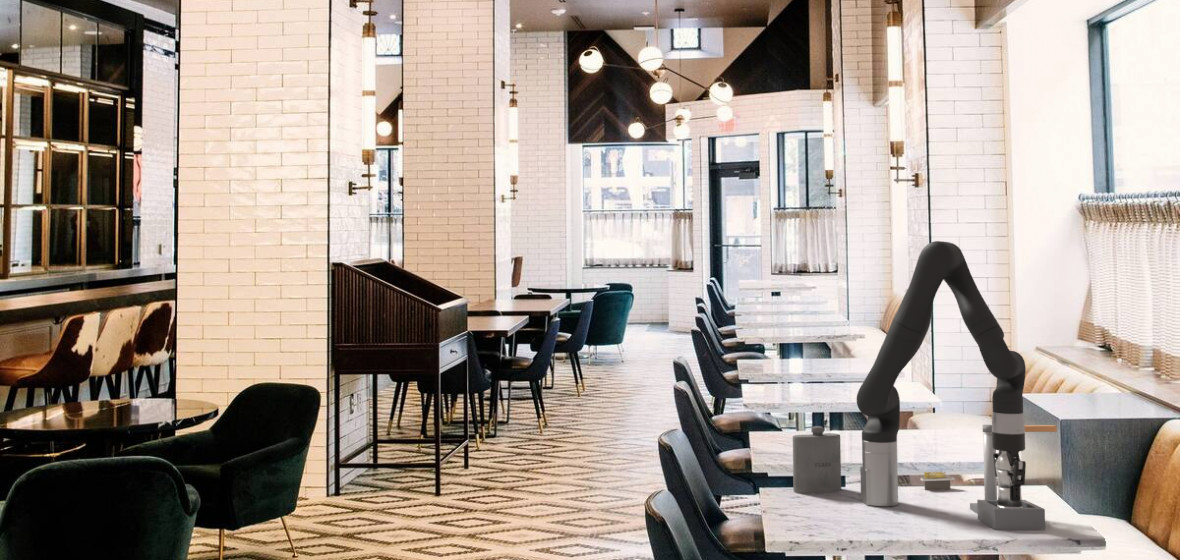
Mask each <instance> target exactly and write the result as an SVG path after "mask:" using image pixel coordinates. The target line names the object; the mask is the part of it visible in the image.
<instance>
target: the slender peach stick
mask: <svg viewBox="0 0 1180 560" xmlns="http://www.w3.org/2000/svg"><path fill="white" fill-rule="evenodd" d="M1057 432H1058V427H1057V425H1055V424H1054V425H1053V424H1048V425H1047V424H1046V425H1045V424H1044V425H1043V424H1033V425H1032V424H1031V425H1029V424H1027V425H1026V424H1025V433H1057ZM982 433H992V424H982Z"/></svg>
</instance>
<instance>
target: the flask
mask: <svg viewBox="0 0 1180 560" xmlns="http://www.w3.org/2000/svg"><path fill="white" fill-rule="evenodd" d="M810 429H811V430H810V431H811V433H812V434H795V435H793V436H792V475H793V476H792V478H793V479H792V482H793V488H792V489H793V493H796V494H801V495H802V494H803V495H813V494H812V493H818V494H828V493H836V492H840V491H842V466H841V465H842V463H841V462H842V460H841V457H842V456H841V454H842V453H841V435H840V434H839V433H833V432H832V433H831V432H830V433H829V432H828V433H825V429H824V427H823V426H819V425H816V426H812V427H811V428H810Z"/></svg>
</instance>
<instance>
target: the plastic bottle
mask: <svg viewBox="0 0 1180 560" xmlns="http://www.w3.org/2000/svg"><path fill="white" fill-rule="evenodd" d="M1003 458H1004V459H1005V460H1004V459H1003ZM1020 461H1022V459H1020ZM995 465H996V472H997V500H998V504H997V507H998V508H1023V506H1022V500H1023V499H1022V485H1021V486H1020V501H1011V500H1010V483H1009V477H1008V476H1007V470H1008V471H1009V472H1010V473H1013V467H1012V466H1010V464H1009V460H1008V457H1007V454H1006V451H1002V454H1001V455H1000V456H999V458H998V459H997V461H996V464H995ZM1013 465H1014V464H1013ZM1012 478H1013V476H1012ZM1020 478H1021V476H1020Z"/></svg>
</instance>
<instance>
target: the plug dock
mask: <svg viewBox="0 0 1180 560" xmlns="http://www.w3.org/2000/svg"><path fill="white" fill-rule="evenodd" d="M982 433H983V434H982V437H983V438H982V439H983V443H982V444H983V446H982V447H983V482H984V485H983V487H984V499H976V501H977V502H969V510H971V511H972V512H974V513H975V514H977V521H979V522H981V523H983V524H985V525H986V526H988V527H989V528H991V529H993V530H995V531H1000V530H1001V531H1006V530H1007V531H1019V530H1020V531H1025V530H1026V531H1037V530H1039V531H1041V530H1042V531H1045V530H1046V509H1045V508H1043V507H1041V506H1039V505H1037V504H1034V503H1032V502H1030V501H1028V500H1026V499H1022V506H1023V508H998V507H997V504H998V478H997V477H996V476H995V470H994V460H993V454H994V453H997V450H995V449H993V447H992V433H985V432H982Z"/></svg>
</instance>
